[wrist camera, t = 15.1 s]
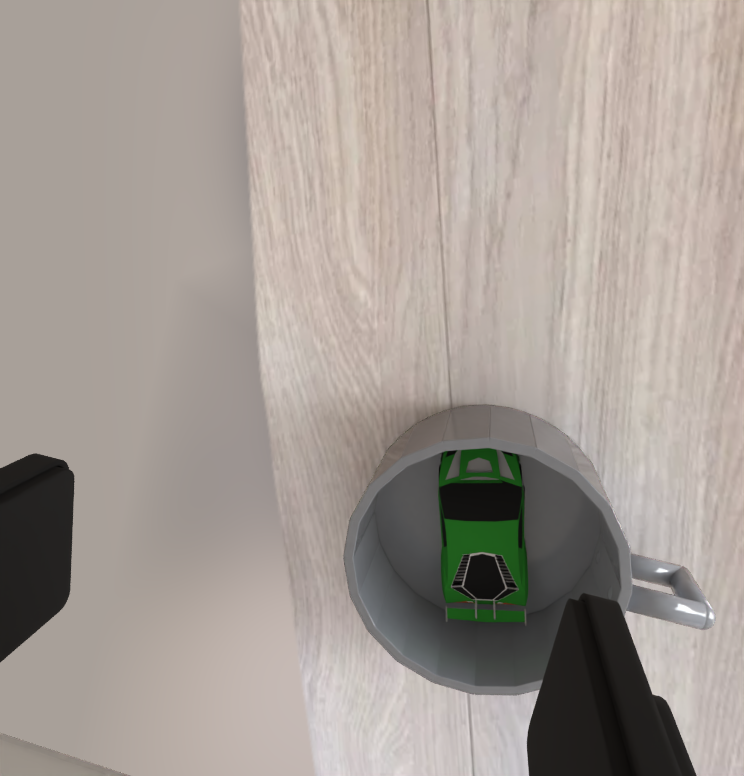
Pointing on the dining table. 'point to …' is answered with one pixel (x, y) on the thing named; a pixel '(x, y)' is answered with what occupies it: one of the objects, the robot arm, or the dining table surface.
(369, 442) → the dining table surface
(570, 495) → the measuring cup
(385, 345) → the dining table surface
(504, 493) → the toy car
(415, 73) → the dining table surface
